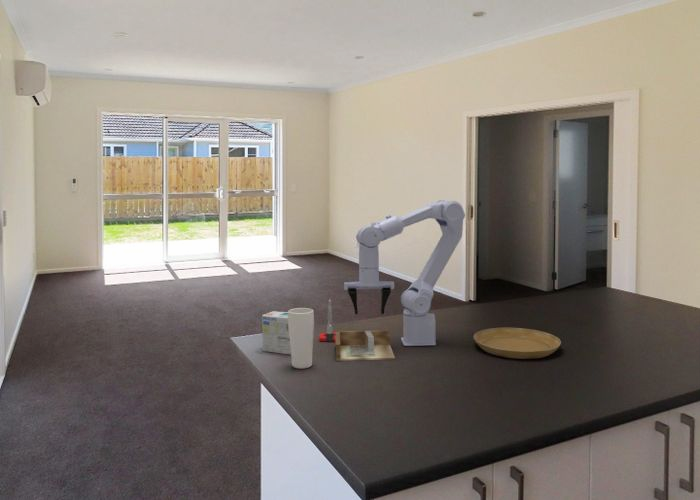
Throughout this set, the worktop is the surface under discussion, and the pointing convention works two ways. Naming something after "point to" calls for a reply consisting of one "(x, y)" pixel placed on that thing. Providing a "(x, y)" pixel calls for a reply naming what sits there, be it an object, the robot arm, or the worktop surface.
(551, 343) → the plant saucer
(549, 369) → the worktop surface
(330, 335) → the tow hook
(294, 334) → the drinking glass
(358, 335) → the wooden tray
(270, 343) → the light bulb box
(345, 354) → the board
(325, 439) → the worktop surface
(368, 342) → the bracket
